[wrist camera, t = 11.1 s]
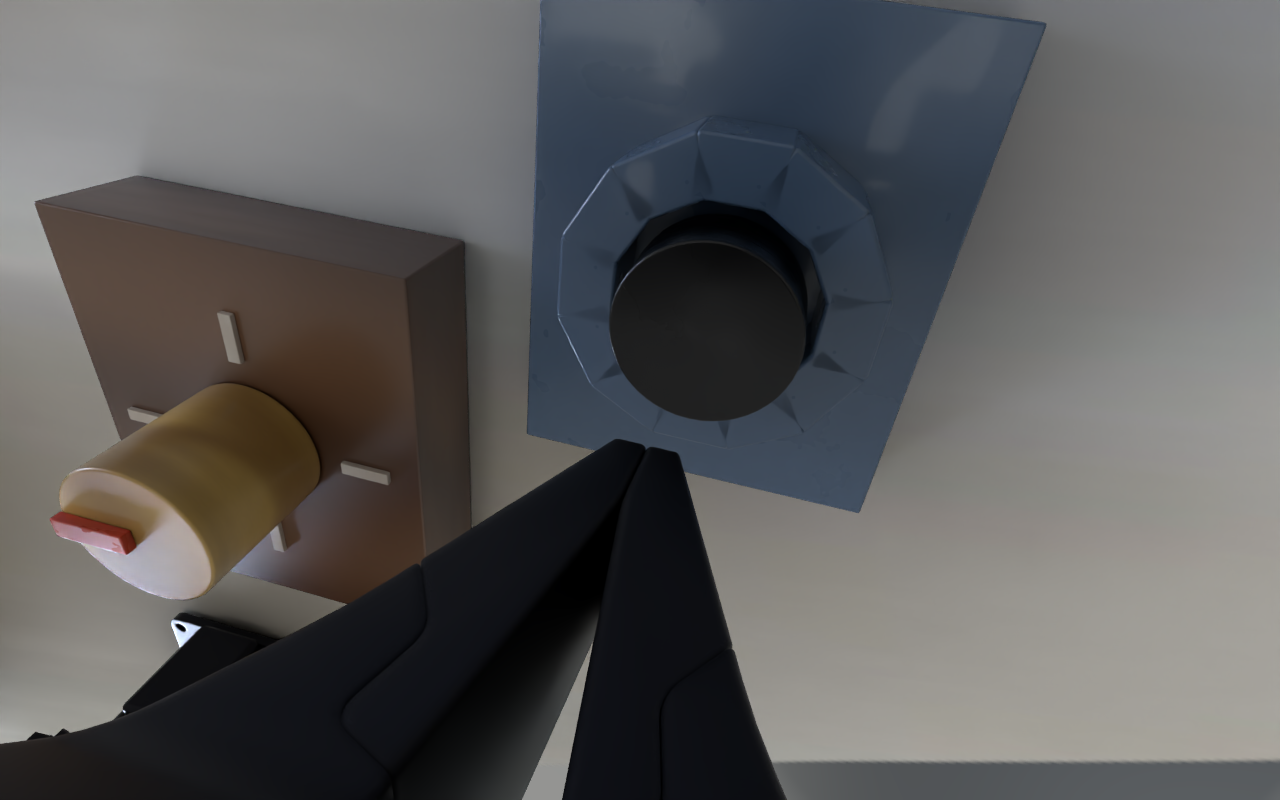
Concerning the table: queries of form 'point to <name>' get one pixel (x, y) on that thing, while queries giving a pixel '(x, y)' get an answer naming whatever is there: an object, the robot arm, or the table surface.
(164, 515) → the dial
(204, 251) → the dial panel
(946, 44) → the button box
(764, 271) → the button
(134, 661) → the table surface
